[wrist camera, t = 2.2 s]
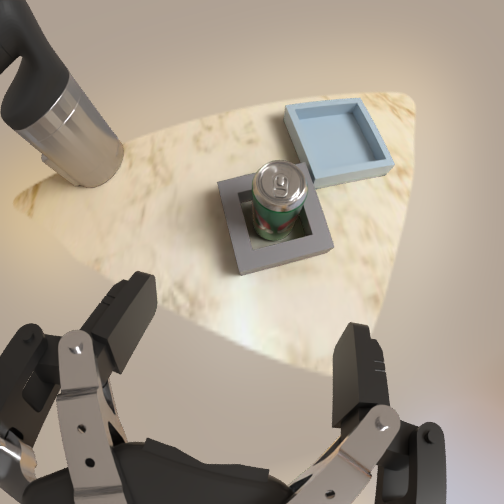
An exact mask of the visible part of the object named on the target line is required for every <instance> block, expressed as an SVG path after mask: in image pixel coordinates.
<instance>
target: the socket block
mask: <svg viewBox="0 0 504 504" xmlns="http://www.w3.org/2000/svg"><path fill="white" fill-rule="evenodd" d="M295 165H296V166H297V167H299V168H300V170H301V171H302V172H303V174H304V176H305V178H306V180H307V184H308V194H307V197H306V200H305V202H304V204H303V206H302V209H301V211H300V213H299V216H300V219H301V222H302V225H303V229H304V232H305V235H306V236H305V237H302V238H298V239H294V240H290V241H286V242H282V243H278V244H274V245H270V246H266V247H263V248H259V249H255V250H253V249H252V246H251V242H250V238H249V234H248V231H247V227H246V223H245V219H244V216H243V212H242V208H241V204H240V203H243V202H247V201H251V200H252V181H253V178H254V176H255V174H256V173H252V174H248V175H244V176H240V177H236V178H232V179H228V180H224V181H220V182H217V184H218V188H219V192H220V196H221V200H222V204H223V209H224V213H225V217H226V221H227V225H228V229H229V233H230V237H231V241H232V245H233V249H234V253H235V257H236V261H237V265H238V269H239V272H240V275H241V276H242V275H246V274H249V273H253V272H257V271H261V270H265V269H269V268H272V267H276V266H280V265H284V264H288V263H291V262H295V261H299V260H302V259H306V258H310V257H314V256H317V255H321V254H324V253H327V252H329V251H330V250H331V249H332V248H334V244H333V241H332V238H331V235H330V232H329V229H328V226H327V222H326V219H325V216H324V213H323V210H322V208H321V205H320V202H319V199H318V196H317V193H316V190H315V188H314V185H313V182H312V179H311V177H310V174H309V171H308V169H307V166H306V163H305V162H304V163H299V164H295Z"/></svg>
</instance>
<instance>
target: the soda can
mask: <svg viewBox="0 0 504 504" xmlns="http://www.w3.org/2000/svg"><path fill="white" fill-rule="evenodd" d="M307 194H308V184H307V180H306V178H305V176H304V174H303V172H302V171H301V170H300V168H299V167H297V166H296V165H295V164H293V163H291V162H288V161H284V160H275V161H271V162H269V163H267V164H265V165H264V166H263V167H262V168H260V169H259V170H258V171H257V172H256V174H255V176H254V178H253V181H252V215H253V226H254V229H255V231H256V232H257V233H258V234H259V235H260V236H261V237H263V238H264V239H267V240H273V241H275V240H280V239H283V238H284V237H286V236H287V235H288V234H289V233H290V232H291V230H292V228H293V226H294V224H295V222H296V219H297V217H298V215H299V213H300V211H301V209H302V206H303V204H304V202H305V200H306V197H307Z"/></svg>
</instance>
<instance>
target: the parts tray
mask: <svg viewBox="0 0 504 504" xmlns="http://www.w3.org/2000/svg"><path fill="white" fill-rule="evenodd" d="M284 123H285V125H286V127H287V130H288V132H289V135H290V137H291V140H292V142H293V145H294V147H295V150H296V153H297V155H298V158H299V161H300V163H304V162H305V163H306V166H307V169H308V171H309V174H310V177H311V179H312V182H313V185H314V188H315V189H319V188H324V187H329V186H333V185H338V184H343V183H348V182H353V181H358V180H364V179H369V178H374V177H380V176H385V175H386V174H387V173H388V172H389V171H390V170H391V169H392V167H393V166H394V165H395V164H394V162H393V159H392V157H391V155H390V153H389V151H388V149H387V147H386V145H385V143H384V141H383V139H382V137H381V135H380V133H379V131H378V129H377V127H376V125H375V123H374V122H373V120H372V118H371V116H370V114H369V112H368V111H367V109H366V107H365V105H364V104H363V102H362V100H361V99H360V98H350V99H336V100H325V101H316V102H307V103H299V104H292V105H286V106H285V113H284Z"/></svg>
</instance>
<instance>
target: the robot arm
mask: <svg viewBox="0 0 504 504" xmlns="http://www.w3.org/2000/svg"><path fill="white" fill-rule="evenodd" d="M19 56H22V61H21V64H20V67H19V69H18V72H17V74H16V76H15V78H14V80H13V81H12V83H11V85H10V87H9V89H8V90H7V92H6V94H5V96H4V99H3V101H2V105H1V117H2V119H3V120H4V122H5V123H6V124H7V125H8V126H10V127H11V128H12V129H13V130H14V131H16V132H17V133H18V134H19V135H20V136H21V137H23V138H24V139H25V140H26V141H28V142H29V143H30V144H31V145H32V146H33V147H35V148H36V149H37V150H38V151H40V152H41V153H42V157H41V158H42V161H43V162H44V163H45V164H46V165H48V166H49V167H50V168H52V169H53V170H54V171H56V172H57V173H58V174H60V175H61V176H62V177H64V178H65V179H66V180H68V181H69V182H70V183H72V184H73V185H74V186H79V185H82V186H85V187H90V188H91V187H96V186H99V185H101V184H103V183H105V182H106V181H108V180H109V179H110V178H111V177H112V176H113V175H114V174H115V173H116V171H117V170H118V168H119V166H120V164H121V162H122V159H123V152H124V150H123V145H122V143H121V142H120V140H119V139H118V137H117V136H116V135H115V134H114V132H113V131H112V130H111V128H110V127H109V126H108V124H107V123H106V122H105V120H104V119H103V118H102V116H101V115H100V113H99V112H98V111H97V110H96V108H95V107H94V105H93V104H92V103H91V101H90V100H89V98H88V97H87V96H86V94H85V93H84V92H83V90H82V89H81V87H80V86H79V85H78V83H77V82H76V81H75V79H74V78H73V76H72V75H71V73H70V72H69V71H68V69H67V68H66V66H65V65H64V64H63V62H62V61H61V60H60V58H59V57H58V56H57V54H56V53H55V51H54V50H53V48H52V47H51V46H50V44H49V42H48V41H47V39H46V37H45V36H44V34H43V32H42V30H41V28H40V27H39V25H38V23H37V21H36V19H35V17H34V15H33V13H32V11H31V9H30V7H29V6H28V4H27V2H26V0H0V74H1V73H2V72H3V71H4V70H5V69H6V68H7V67H8V66H9V65H10V64H11V63H12V62H13V61H14V60H15V59H16V58H18V57H19ZM156 308H157V293H156V282H155V277H154V275H151V274H147V273H144V272H140V271H136V272H135V273H134V274H133V275H132V277H131V278H130V279H129V280H128V281H127V280H124V279H123V280H122V281H120V282H119V283H117V284H115V285H114V286H113V287H112V288H111V289H110V291H109V292H108V293H107V295H106V296H105V297H104V299H103V300H102V301H101V303H99V305H98V306H97V307H96V309H95V310H94V311H93V313H92V314H91V315H90V317H89V318H88V319H87V321H86V322H85V323H84V325H83V326H82V327H81V329H80V330H73V331H70V332H68V333H66V334H65V335H63V336H62V337H61V336H53V335H46V334H44V333H43V331H42V329H41V328H40V327H39V326H38V325H37V324H32V323H31V324H26V325H24V326H22V327H21V328H20V329H19V330H18V331H17V332H16V334H15V335H14V337H13V338H12V339H11V341H10V342H9V344H8V345H7V347H6V348H5V350H4V351H3V353H2V354H1V356H0V488H2V489H3V490H4V491H5V492H6V493H8V494H9V495H10V496H11V497H13V498H14V499H15V500H17V501H18V502H19V503H21V504H351V503H352V502H353V501H354V500H355V499H356V497H357V496H358V495H359V494H360V493H361V491H362V490H363V489H364V488H365V487H366V485H367V484H368V482H369V481H370V479H371V477H372V475H371V474H370V473H371V471H372V469H373V468H374V466H375V465H378V473H377V486H376V496H375V504H446V455H445V440H444V434H443V431H442V429H441V428H440V426H438V425H437V424H436V423H433V422H426V423H424V424H422V425H421V426H420V427H418V426H415V425H412V424H409V423H407V422H404V421H402V420H400V418H399V415H398V414H397V412H396V411H395V410H394V409H393V408H391V407H390V403H389V394H388V385H387V378H386V372H385V364H384V358H383V351H382V349H381V347H380V345H379V343H378V342H377V340H375V339H371V337H370V331H369V327H368V326H367V325H363V324H358V323H352V322H350V323H349V324H348V325H347V327H346V329H345V331H344V332H343V334H342V336H341V338H340V339H339V341H338V343H337V344H336V346H335V349H334V353H333V412H332V427H333V428H341V435H340V436H339V437H338V438H337V439H336V440H335V441H334V442H333V443H332V444H331V446H330V447H329V448H328V449H327V450H326V451H325V452H324V453H323V454H322V455H321V456H320V457H319V458H318V459H317V460H316V461H315V462H314V463H313V464H312V465H311V466H310V467H309V468H308V469H307V470H305V471H304V472H303V473H302V474H300V475H299V476H298V477H297V478H296V479H294V481H292V482H291V483H290V484H289V485H288V486H287V485H286V484H285V483H283V482H282V481H280V480H278V479H277V478H275V477H273V476H271V475H269V469H263V468H256V467H251V466H245V465H240V464H204V463H202V462H200V461H198V460H196V459H195V458H193V457H191V456H189V455H187V454H186V453H184V452H182V451H181V450H179V449H177V448H175V447H172V446H169V445H166V444H163V443H160V442H158V441H155V440H152V439H150V438H147V439H146V442H128V441H127V438H126V434H125V432H124V429H123V427H122V424H121V422H120V420H119V417H118V413H117V409H116V405H115V401H114V397H113V393H112V389H111V384H110V379H109V377H110V375H111V373H112V371H114V372H116V373H119V374H122V372H123V370H124V368H125V366H126V364H127V362H128V361H129V359H130V357H131V355H132V354H133V351H134V350H135V348H136V346H137V345H138V342H139V341H140V339H141V337H142V336H143V334H144V332H145V330H146V328H147V327H148V325H149V323H150V322H151V320H152V318H153V316H154V315H155V312H156ZM32 372H33V373H32ZM30 376H31V377H30ZM29 377H30V378H29ZM28 379H29V380H28ZM25 384H26V385H25ZM24 386H25V387H24ZM23 388H24V389H23ZM60 389H61V394H58V392H59V390H60ZM57 394H58V395H57ZM56 396H57V399H56V402H57V411H58V418H59V425H60V431H61V436H62V441H63V446H64V451H65V455H66V460H67V464H68V467H67V468H64V469H62V470H59V471H57V472H54V473H52V474H49V475H46V476H44V477H41V478H38V479H36V477H35V473H34V468H36V466H37V461H36V458H35V454H34V451H33V449H32V448H33V446H34V444H35V441H36V439H37V437H38V434H39V432H40V430H41V427H42V425H43V423H44V421H45V419H46V417H47V415H48V412H49V410H50V408H51V406H52V404H53V402H54V400H55V398H56Z"/></svg>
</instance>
